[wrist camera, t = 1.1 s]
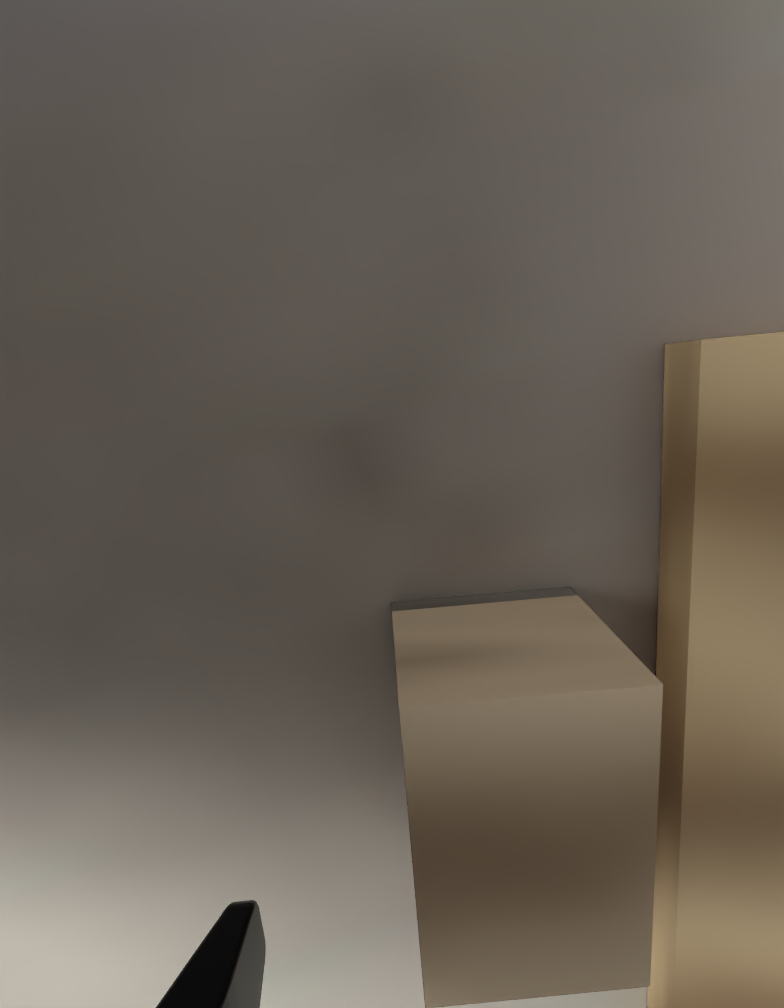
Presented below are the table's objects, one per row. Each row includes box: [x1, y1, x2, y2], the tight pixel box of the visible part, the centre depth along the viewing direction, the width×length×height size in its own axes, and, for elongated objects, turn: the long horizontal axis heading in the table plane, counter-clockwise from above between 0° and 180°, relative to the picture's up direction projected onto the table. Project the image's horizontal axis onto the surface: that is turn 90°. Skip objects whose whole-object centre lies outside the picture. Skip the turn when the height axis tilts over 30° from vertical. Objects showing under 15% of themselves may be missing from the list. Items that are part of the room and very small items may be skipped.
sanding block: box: [391, 587, 663, 1008], centre depth 10 cm, size 6×4×4 cm, turn 5°
